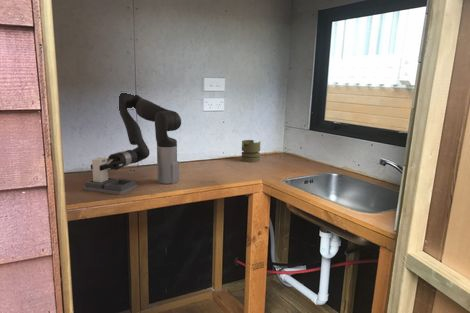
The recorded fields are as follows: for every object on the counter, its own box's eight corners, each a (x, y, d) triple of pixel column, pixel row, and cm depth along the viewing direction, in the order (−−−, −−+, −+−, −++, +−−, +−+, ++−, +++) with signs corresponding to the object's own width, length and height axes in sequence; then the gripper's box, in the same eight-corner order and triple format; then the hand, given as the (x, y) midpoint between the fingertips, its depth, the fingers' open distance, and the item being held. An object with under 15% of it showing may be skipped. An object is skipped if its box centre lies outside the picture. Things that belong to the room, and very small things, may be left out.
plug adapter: (108, 179, 164) (107, 158, 162) (100, 182, 159) (99, 160, 157) (100, 178, 165) (99, 157, 163) (93, 181, 161) (91, 159, 159)
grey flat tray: (136, 187, 164) (136, 180, 163) (120, 194, 153) (120, 187, 152) (101, 182, 170) (100, 176, 169) (83, 189, 159) (82, 182, 158)
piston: (251, 139, 232) (264, 141, 224) (250, 158, 234) (263, 161, 226) (238, 141, 224) (251, 143, 216) (237, 160, 227) (250, 163, 219)
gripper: (107, 151, 176) (81, 157, 160) (132, 153, 171) (109, 160, 156) (107, 166, 177) (82, 174, 161) (133, 169, 173) (110, 177, 157)
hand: (95, 167), depth 159 cm, fingers closed on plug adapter, 4 cm apart
